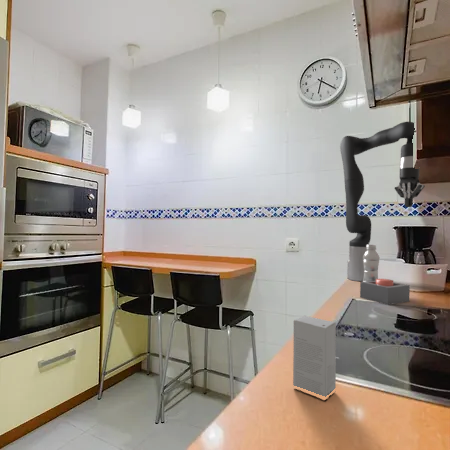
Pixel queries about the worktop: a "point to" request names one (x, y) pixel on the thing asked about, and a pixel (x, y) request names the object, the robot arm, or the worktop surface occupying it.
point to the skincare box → (314, 355)
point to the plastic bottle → (370, 263)
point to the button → (384, 282)
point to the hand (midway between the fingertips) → (408, 207)
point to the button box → (385, 292)
